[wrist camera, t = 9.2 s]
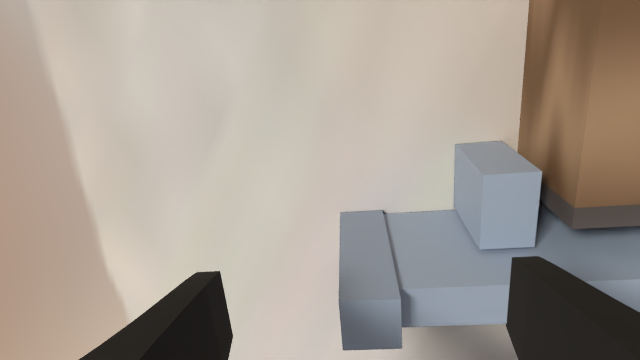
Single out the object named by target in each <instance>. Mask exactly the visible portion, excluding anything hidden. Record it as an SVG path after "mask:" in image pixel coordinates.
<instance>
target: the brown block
mask: <svg viewBox="0 0 640 360" xmlns="http://www.w3.org/2000/svg"><path fill="white" fill-rule="evenodd" d="M518 153H519V154H520V155H521V156H523V157H524V158H525V159H527V160H528V161H529V162H530V163H532V164H533V165H534V166H536V167H537V168H538V169H540V170H541V171H542V179H541V189H540V199H539V200H540V201H541V202H542V203H543V204H545V205H546V206H547V207H548V208H549V209H550V210H551V211H552V212H553V213H554V214H555V215H557V216H558V217H559V218H560V219H561V220H562V221H563V222H564V223H565V224H566V225H568V226H569V227H570V228H571V229H586V228H605V227H624V226H640V0H529V13H528V26H527V39H526V51H525V64H524V77H523V90H522V102H521V115H520V128H519V141H518Z"/></svg>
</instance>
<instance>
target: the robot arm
mask: <svg viewBox="0 0 640 360" xmlns="http://www.w3.org/2000/svg"><path fill="white" fill-rule="evenodd" d="M506 327H507V330H508V333H509V336H510V338H511V341H512V344H513V346H514V349H515V352H516V354H517V357H518V359H519V360H640V312H638V311H636V310H634V309H633V308H631V307H629V306H627V305H625V304H623V303H622V302H620V301H618V300H616V299H614V298H613V297H611V296H609V295H607V294H606V293H604V292H602V291H600V290H598V289H597V288H595V287H593V286H592V285H590V284H588V283H586V282H585V281H583V280H581V279H579V278H578V277H576V276H574V275H573V274H571V273H569V272H567V271H566V270H564V269H562V268H560V267H559V266H557V265H555V264H553V263H551V262H549V261H547V260H546V259H544V258H541V257H539V256H528V257H512V262H511V274H510V287H509V299H508V311H507V323H506ZM232 338H233V334H232V329H231V324H230V319H229V314H228V309H227V304H226V299H225V294H224V289H223V284H222V279H221V274H220V271H215V272H197V273H195V274H194V275H192V276H191V277H189V278H188V279H187V280H185V281H184V282H183V283H181V284H180V285H179V286H177V287H176V288H175V289H174V290H172V291H171V292H170V293H169V294H167V295H166V296H165V297H164V298H162V299H161V300H160V301H159V302H157V303H156V304H155V305H153V306H152V307H151V308H150V309H148V310H147V311H146V312H144V313H143V314H142V315H141V316H139V317H138V318H137V319H135V320H134V321H133V322H131V323H130V324H129V325H127V326H126V327H125V328H123V329H122V330H120V331H119V332H118V333H116V334H115V335H114V336H112V337H111V338H110V339H108V340H107V341H105V342H104V343H102V344H101V345H100V346H98V347H97V348H95V349H94V350H92V351H91V352H90V353H88V354H87V355H85V356H84V357H82V358H80V359H79V360H228V357H229V353H230V348H231V343H232Z"/></svg>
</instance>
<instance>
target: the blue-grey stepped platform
mask: <svg viewBox="0 0 640 360" xmlns="http://www.w3.org/2000/svg"><path fill="white" fill-rule="evenodd" d="M541 179H542V171H541V170H540V169H538V168H537V167H536V166H534V165H533V164H532V163H530V162H529V161H528V160H527V159H525V158H524V157H523V156H521V155H520V154H519V153H517V152H516V151H515V150H513V149H512V148H511V147H509V146H508V145H507V144H505V143H504V142H503V141H493V142H479V143H464V144H455V176H454V207H455V209H456V210H444V211H426V212H409V213H391V214H383V210H377V211H360V212H342V213H340V260H339V310H340V321H341V333H342V344H343V350H370V349H401V348H402V327H428V326H457V325H485V324H506V323H507V311H508V299H509V287H510V274H511V262H512V257H528V256H539V257H541V258H544V259H546V260H547V261H549V262H551V263H553V264H555V265H557V266H559V267H560V268H562V269H564V270H566V271H567V272H569V273H571V274H573V275H574V276H576V277H578V278H579V279H581V280H583V281H585V282H586V283H588V284H590V285H592V286H593V287H595V288H597V289H598V290H600V291H602V292H604V293H606V294H607V295H609V296H611V297H613V298H614V299H616V300H618V301H620V302H622V303H623V304H625V305H627V306H629V307H631V308H633V309H634V310H636V311H638V312H640V226H624V227H605V228H586V229H571V228H570V227H569V226H568V225H566V224H565V223H564V222H563V221H562V220H561V219H560V218H559V217H558V216H557V215H555V214H554V213H553V212H552V211H551V210H550V209H549V208H548V207H547V206H546V205H539V199H540V189H541Z"/></svg>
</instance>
